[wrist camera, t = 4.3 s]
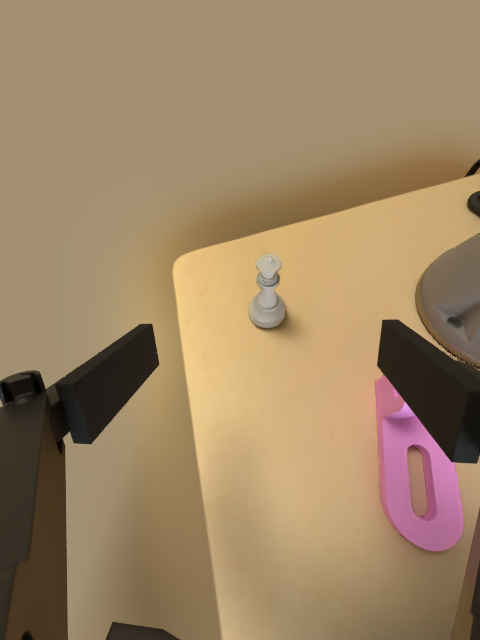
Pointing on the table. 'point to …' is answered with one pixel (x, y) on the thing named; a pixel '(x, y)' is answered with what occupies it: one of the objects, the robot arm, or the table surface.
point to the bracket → (440, 475)
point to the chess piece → (267, 294)
